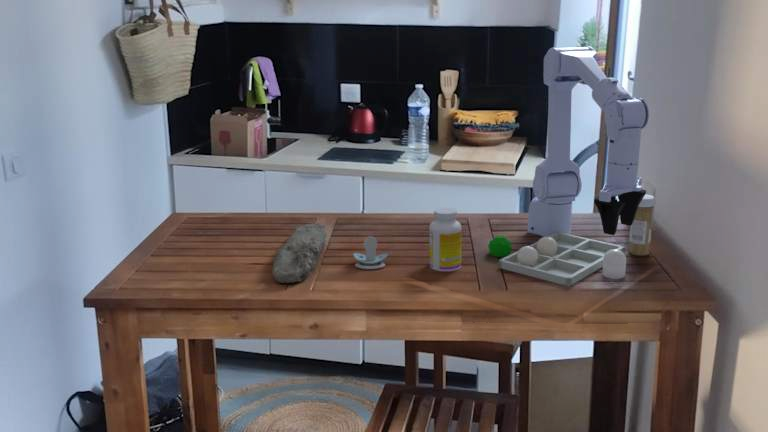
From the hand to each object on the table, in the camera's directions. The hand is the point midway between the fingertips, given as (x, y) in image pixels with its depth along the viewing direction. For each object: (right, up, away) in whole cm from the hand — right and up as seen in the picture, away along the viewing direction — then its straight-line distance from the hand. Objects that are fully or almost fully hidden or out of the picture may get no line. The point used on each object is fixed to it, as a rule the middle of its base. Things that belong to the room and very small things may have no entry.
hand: (618, 229), depth 156 cm
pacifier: (-49, -8, +13) cm, 52 cm away
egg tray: (-8, -8, +11) cm, 16 cm away
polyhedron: (-21, -7, +16) cm, 27 cm away
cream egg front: (-17, -8, +8) cm, 20 cm away
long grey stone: (-65, -7, +19) cm, 68 cm away
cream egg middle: (-11, -6, +14) cm, 19 cm away
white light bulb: (0, -10, +3) cm, 11 cm away
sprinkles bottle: (+9, -6, +16) cm, 19 cm away
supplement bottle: (-33, -9, +10) cm, 36 cm away
